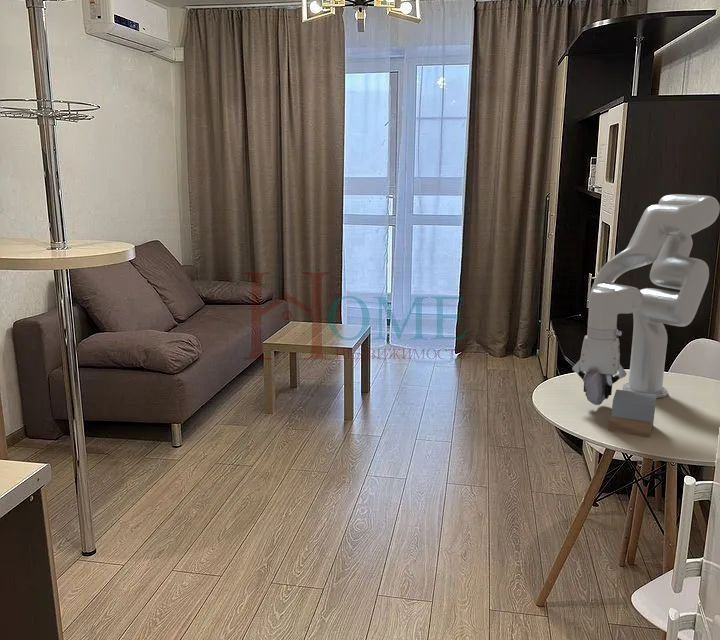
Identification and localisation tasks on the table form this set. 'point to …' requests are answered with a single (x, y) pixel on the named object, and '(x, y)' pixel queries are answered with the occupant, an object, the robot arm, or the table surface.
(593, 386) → the stone block
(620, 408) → the tower top
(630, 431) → the tower base
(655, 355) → the robot arm
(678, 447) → the table surface
